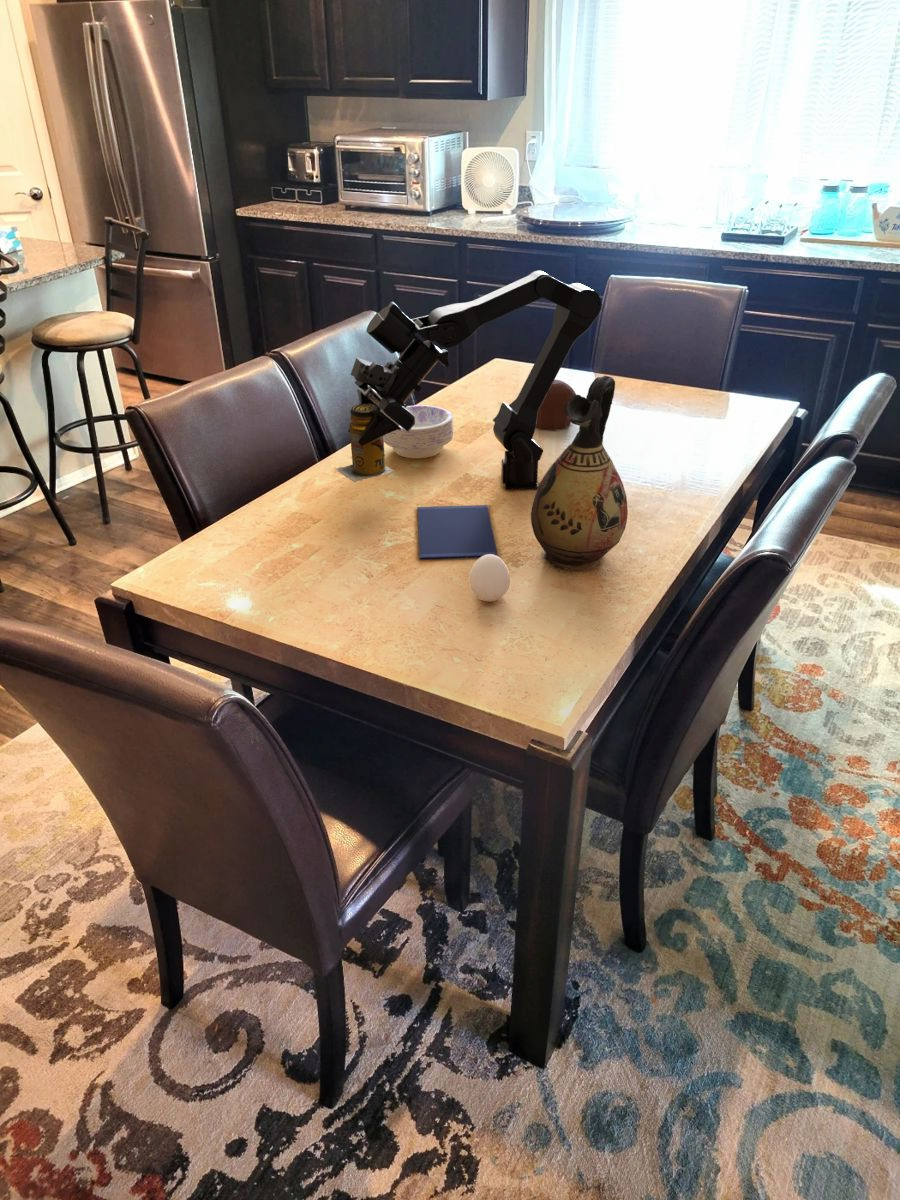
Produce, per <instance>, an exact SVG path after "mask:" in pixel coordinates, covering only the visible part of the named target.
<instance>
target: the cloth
mask: <svg viewBox="0 0 900 1200" xmlns="http://www.w3.org/2000/svg"><path fill="white" fill-rule="evenodd" d="M417 516H418V517H417V518H418V519H417V521H418V522H417V523H418V548H419V549H418V550H419V560H420V561H424V560H425V561H427V560H453V559H479V558H480V557H482V556H484V555H487V554H493V555H496V556H498V551H497V547H496V541H495V536H494V532H493V526H492V522H491V517H490V511H489V507H488V505H487V504H479V505H449V506H447V505H445V506H444V505H443V506H418V507H417Z"/></svg>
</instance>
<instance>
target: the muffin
mask: <svg viewBox="0 0 900 1200" xmlns="http://www.w3.org/2000/svg"><path fill="white" fill-rule="evenodd" d="M573 395H577V393H576V391H575V390H574V389H573V387H572V386H571V385H570V384H569V383H566V382H565V381H563V380H560V379H556V378H555V379H554V381H553V383H552V385H551V387H550V389H549V391H548V393H547V395H546V397H545V399H544V400H543V402H542V404H541V406H540V408H539V410H538V415H537V423H536V429H539V430H542V431H553V432H556V431H559V430H566V429H567V428H568V427H570V426H571V422H569V421H568V419H567V417H566V414H565V407H566V404H567V403H568V401H569V399H570V398H571V397H572V396H573Z"/></svg>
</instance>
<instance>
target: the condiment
mask: <svg viewBox="0 0 900 1200" xmlns="http://www.w3.org/2000/svg"><path fill="white" fill-rule="evenodd" d="M372 405H373V404H360V405H359V404H356V405H353V406H352V407H351V408H350V411H349V413H350V422H349V425H348V427H349V428H350V433H349V437H350V439H349V440H350V451H351V461H352V464H349V465H346V466H342V467H341V466H340V467H337V468H335V470H336V471H337V472H338V473H339V474H341V475H342V476H343V477H345V478H347V479H349V481H351V482H353V483H356V482H361V481H363V480H368V479H371V478H376V477H380V476H383V475H388V474H390V473H393V472H394V470H393V469H392V468H390V467H388V466H387V465H386V459H385V458H386V453H385V452H386V451H385V442H384V437H383V436H381V437H379V438H377V439H375V440H373V441H371V442H369V443H367V444H365V445H363V446H361V445H360V444H359V443H358V440H359V438H360V436H361V434H362V433H363V431H364V430H365V428H366V426H367V425H368V423H369V422H370V420H371V418H372V416H373V410H372ZM374 406H375V407H377V408H378V409H379V407H378V406H376V405H374ZM379 410H380V409H379ZM349 428H348V429H349Z"/></svg>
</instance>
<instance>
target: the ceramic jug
mask: <svg viewBox="0 0 900 1200" xmlns="http://www.w3.org/2000/svg"><path fill="white" fill-rule="evenodd" d="M615 389H616V381H615V379H614V378H613V377H612V376H609V375H605V374H604V375H603V376H598V377H596V378H595V379H594V380H593V381H592V382H591V383H590V385H589V388H588V389H587V394H586V397H585V396H581V395H580V394H576V395H573V396H572V397H571V398H570V399H569V401H568V403H567V404H566V407H565V414H566V417H567V419H568V421H569V422H570V424H572V425H576V426H578V428H579V429H578V432H577V433H576V435H575V437H574V438H573V440H572V442H571V443H569V445H568V446H567V447H566V448H565V449H564V450H563V451H562V453H561V454H560V455H559V456H558V457H557V458H556V460H555V461H554V462H553V463H552V464H551V466H550V467H549V468H548V470H547V471H546V472H545V474H544V475H543V477H542V479H541V480H540V482H539V483H538V485H539V486H538V489H536V491H535V494H534V498H533V500H532V504H531V508H530V509H531V510H530V524H531V528H532V532H533V535H534V537H535V539H536V541H537V542H538V544H539V545H540V547H541V548H542V550H543V551H544V555H543V556H544V557H543V558H544V559H545V560H546V561H547V562H548V563H549V564H550V565H551V566H553V567H555V568H557V569H559V570H568V571H577V572H578V571H585V570H590V569H592V568H594V567H595V566H597V565H599V563H600V561H601V560H602V559H603V558H604V557H605V555H606V554H608V552H610V551H611V550H612V549H613V548H615V547H616V546H617V545H618V544H619V543H620V541H621V539H622V537H623V534H624V532H625V530H626V528H627V527H626V526H627V521H628V515H629V513H628V499H627V498H628V497H627V493H626V490H625V485H624V483H623V480H622V478H621V475H620V474H619V472H618V470H617V468H616V466H615V464H614V462H613V459H612V458H611V456H610V455H609V453H608V452H607V450H606V448H605V447H604V444H603V443H604V434H605V431H606V426H607V421H608V419H609V417H610V413H611V407H612V404H613V399H614V397H615Z"/></svg>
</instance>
